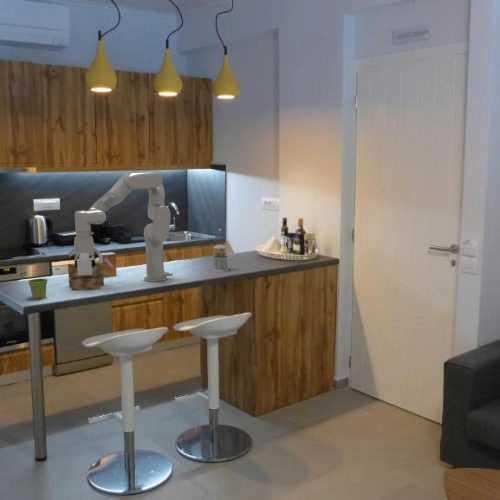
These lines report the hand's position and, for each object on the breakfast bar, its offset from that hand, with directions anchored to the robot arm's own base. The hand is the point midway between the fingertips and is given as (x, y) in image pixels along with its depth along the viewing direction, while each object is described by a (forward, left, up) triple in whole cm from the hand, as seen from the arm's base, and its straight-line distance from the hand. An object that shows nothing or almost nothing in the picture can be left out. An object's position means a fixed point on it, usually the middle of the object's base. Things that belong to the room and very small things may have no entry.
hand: (85, 267), depth 325 cm
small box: (-11, -30, -11) cm, 34 cm away
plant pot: (+22, +16, -11) cm, 29 cm away
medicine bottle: (0, 0, -4) cm, 4 cm away
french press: (-77, -29, -11) cm, 83 cm away
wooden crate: (0, -2, -11) cm, 11 cm away
